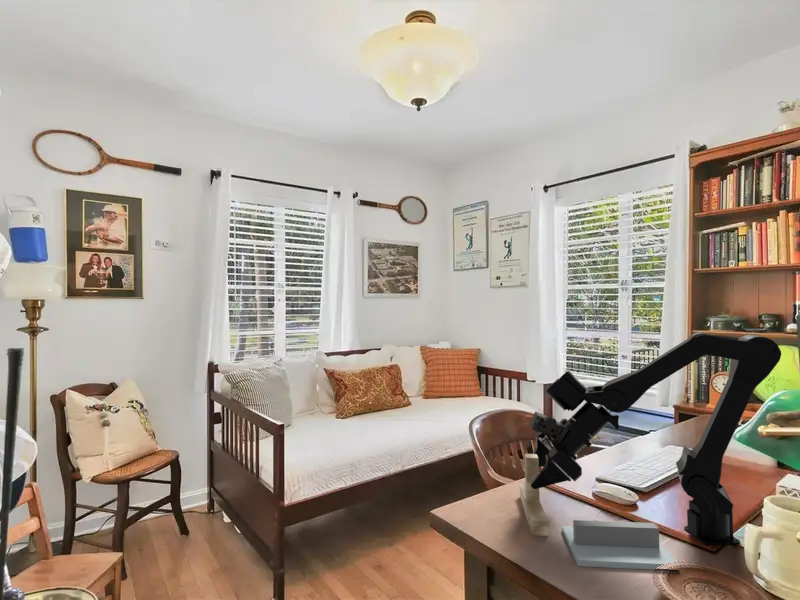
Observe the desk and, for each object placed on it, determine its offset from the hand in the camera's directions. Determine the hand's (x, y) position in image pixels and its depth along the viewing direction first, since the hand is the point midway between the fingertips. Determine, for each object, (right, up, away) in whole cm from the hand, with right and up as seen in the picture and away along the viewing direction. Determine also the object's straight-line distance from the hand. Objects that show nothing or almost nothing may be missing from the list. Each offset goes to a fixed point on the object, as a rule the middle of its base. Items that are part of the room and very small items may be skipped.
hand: (528, 478), depth 97 cm
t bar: (+1, -8, 0) cm, 8 cm away
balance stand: (+11, -7, -15) cm, 20 cm away
